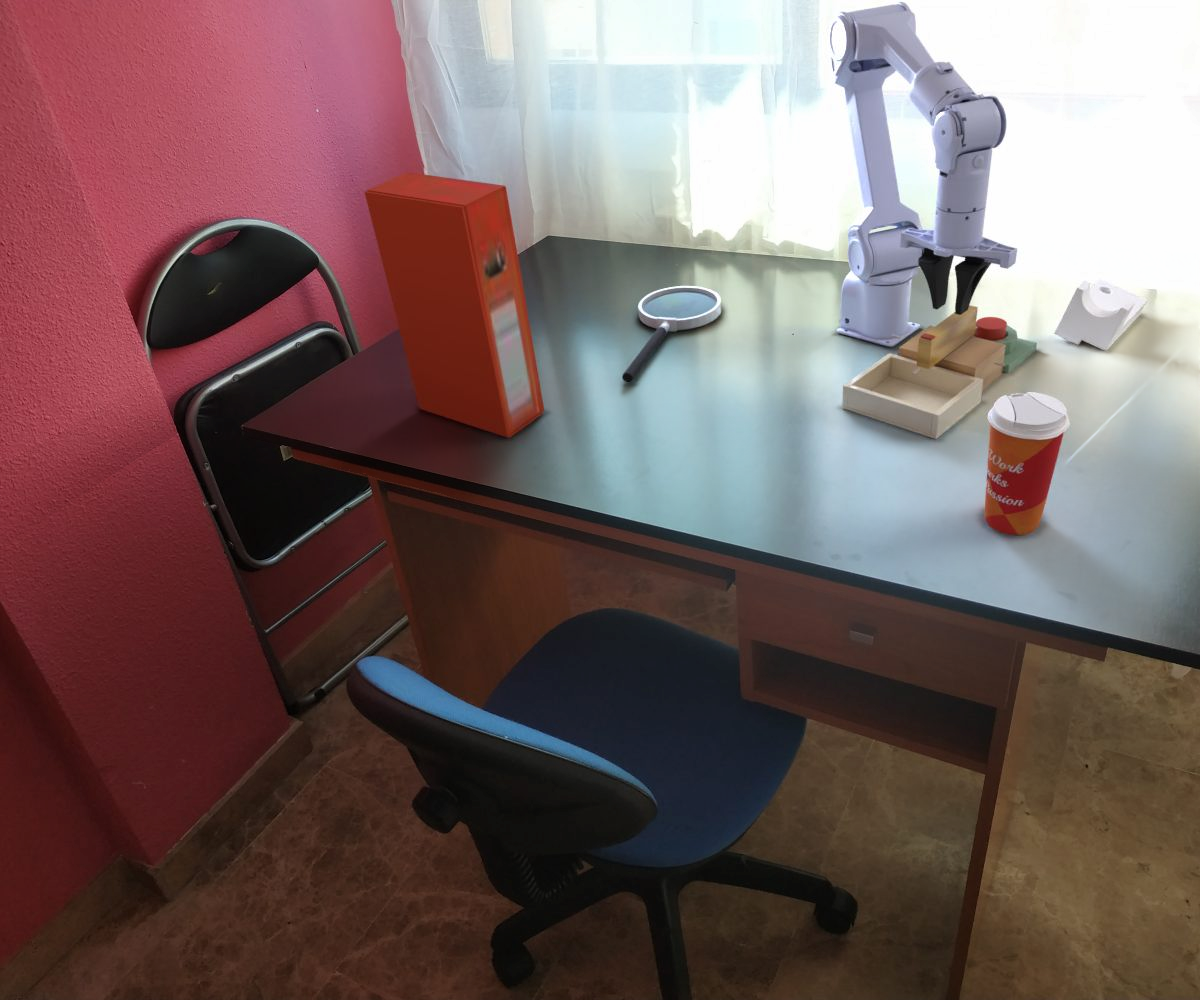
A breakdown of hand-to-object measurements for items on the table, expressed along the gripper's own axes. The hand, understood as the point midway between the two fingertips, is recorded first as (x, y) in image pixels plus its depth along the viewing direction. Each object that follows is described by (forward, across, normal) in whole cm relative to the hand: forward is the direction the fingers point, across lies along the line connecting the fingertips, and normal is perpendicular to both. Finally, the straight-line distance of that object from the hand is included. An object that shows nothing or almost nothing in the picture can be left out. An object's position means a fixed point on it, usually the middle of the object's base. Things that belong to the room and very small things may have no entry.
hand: (950, 309), depth 127 cm
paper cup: (+11, +22, -24) cm, 34 cm away
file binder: (+11, -48, -43) cm, 65 cm away
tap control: (+10, +1, +10) cm, 15 cm away
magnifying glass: (+11, -42, -11) cm, 44 cm away
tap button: (+8, +1, +10) cm, 13 cm away
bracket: (+11, +10, +25) cm, 29 cm away
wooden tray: (+10, 0, -8) cm, 13 cm away
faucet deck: (+10, 0, 0) cm, 10 cm away
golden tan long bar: (+6, 0, 0) cm, 6 cm away
